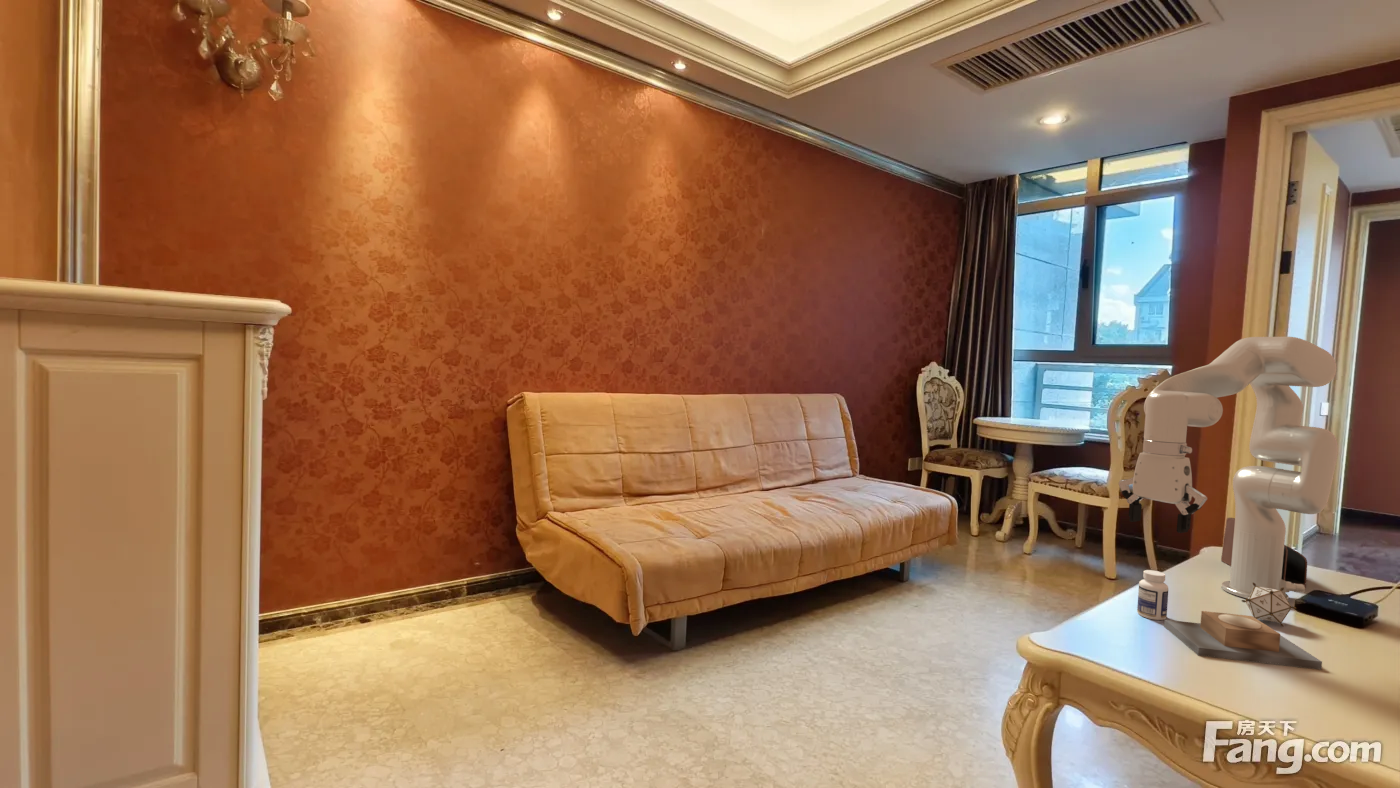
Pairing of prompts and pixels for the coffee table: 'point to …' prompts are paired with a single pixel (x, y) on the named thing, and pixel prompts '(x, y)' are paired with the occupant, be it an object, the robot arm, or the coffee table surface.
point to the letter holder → (1292, 560)
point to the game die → (1268, 604)
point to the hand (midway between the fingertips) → (1157, 526)
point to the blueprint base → (1240, 653)
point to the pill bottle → (1153, 595)
